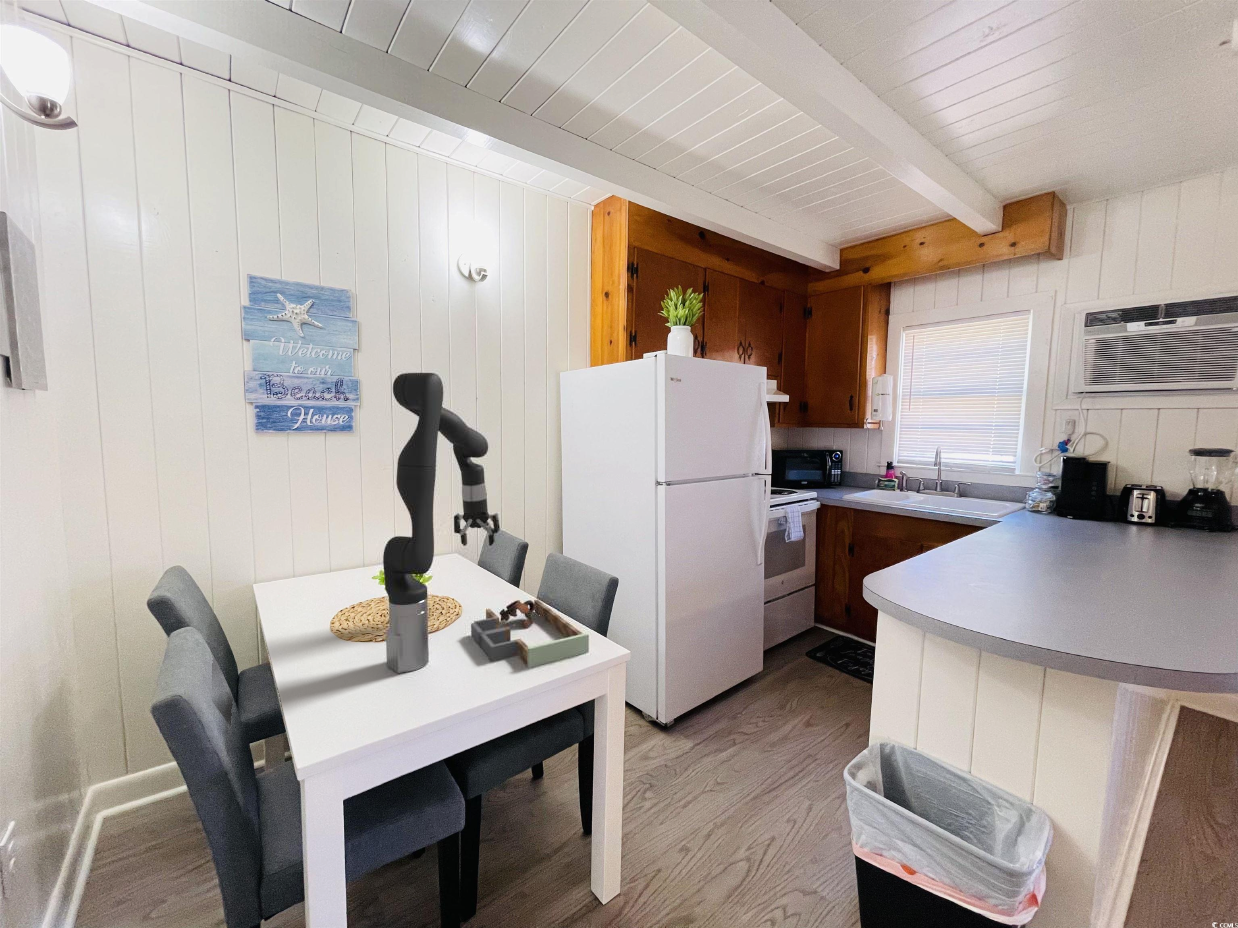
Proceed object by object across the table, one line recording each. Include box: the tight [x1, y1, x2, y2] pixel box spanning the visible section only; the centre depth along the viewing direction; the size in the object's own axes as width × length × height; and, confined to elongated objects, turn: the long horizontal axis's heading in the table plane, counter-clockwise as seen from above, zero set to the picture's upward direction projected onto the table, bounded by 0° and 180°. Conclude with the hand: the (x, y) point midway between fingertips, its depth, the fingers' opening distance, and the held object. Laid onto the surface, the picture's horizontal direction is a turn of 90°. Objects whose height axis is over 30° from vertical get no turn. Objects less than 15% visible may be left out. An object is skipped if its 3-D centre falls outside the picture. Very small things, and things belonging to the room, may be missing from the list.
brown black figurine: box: [498, 599, 535, 629], centre depth 159 cm, size 12×10×8 cm
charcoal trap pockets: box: [470, 617, 518, 663], centre depth 143 cm, size 19×7×4 cm, turn 32°
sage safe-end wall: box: [526, 632, 590, 669], centre depth 135 cm, size 1×17×5 cm, turn 123°
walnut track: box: [485, 599, 584, 666], centre depth 149 cm, size 34×17×4 cm, turn 32°
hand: (478, 544), depth 165 cm, fingers open, 8 cm apart
